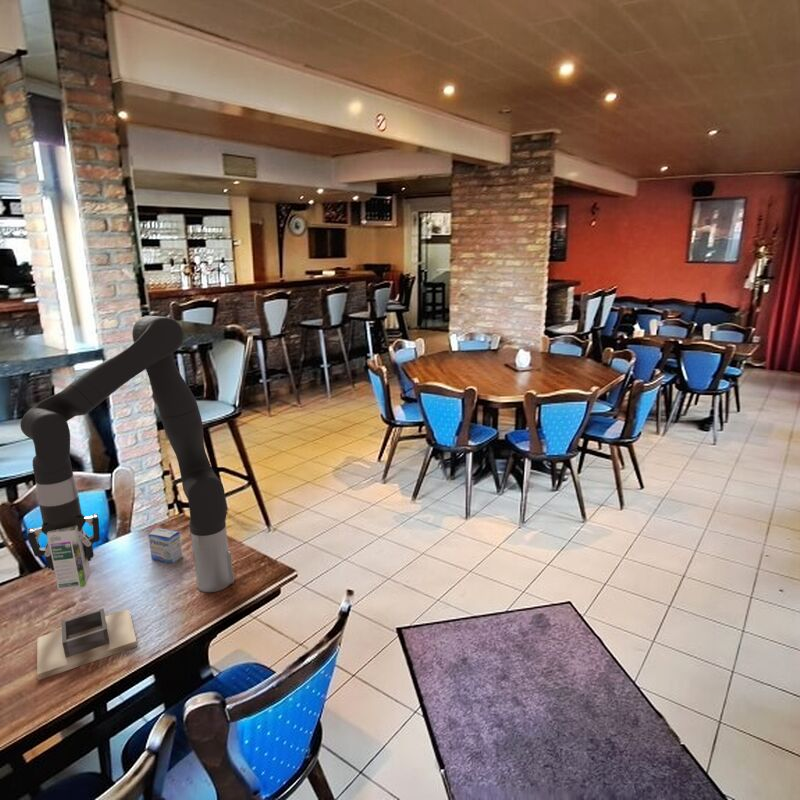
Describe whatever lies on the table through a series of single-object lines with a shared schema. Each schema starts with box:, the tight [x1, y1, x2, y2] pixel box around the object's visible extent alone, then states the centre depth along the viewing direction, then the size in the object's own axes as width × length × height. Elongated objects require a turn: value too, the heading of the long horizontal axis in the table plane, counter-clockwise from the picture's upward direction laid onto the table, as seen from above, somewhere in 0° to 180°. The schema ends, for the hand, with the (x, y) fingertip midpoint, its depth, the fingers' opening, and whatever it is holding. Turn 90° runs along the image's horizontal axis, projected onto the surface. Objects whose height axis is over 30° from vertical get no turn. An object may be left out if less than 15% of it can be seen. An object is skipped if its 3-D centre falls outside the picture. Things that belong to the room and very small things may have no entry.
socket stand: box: [36, 608, 138, 681], centre depth 133 cm, size 20×14×6 cm
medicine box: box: [148, 527, 183, 564], centre depth 169 cm, size 8×4×9 cm, turn 73°
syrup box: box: [46, 525, 92, 591], centre depth 127 cm, size 6×6×14 cm
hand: (71, 563), depth 128 cm, fingers closed on syrup box, 6 cm apart
